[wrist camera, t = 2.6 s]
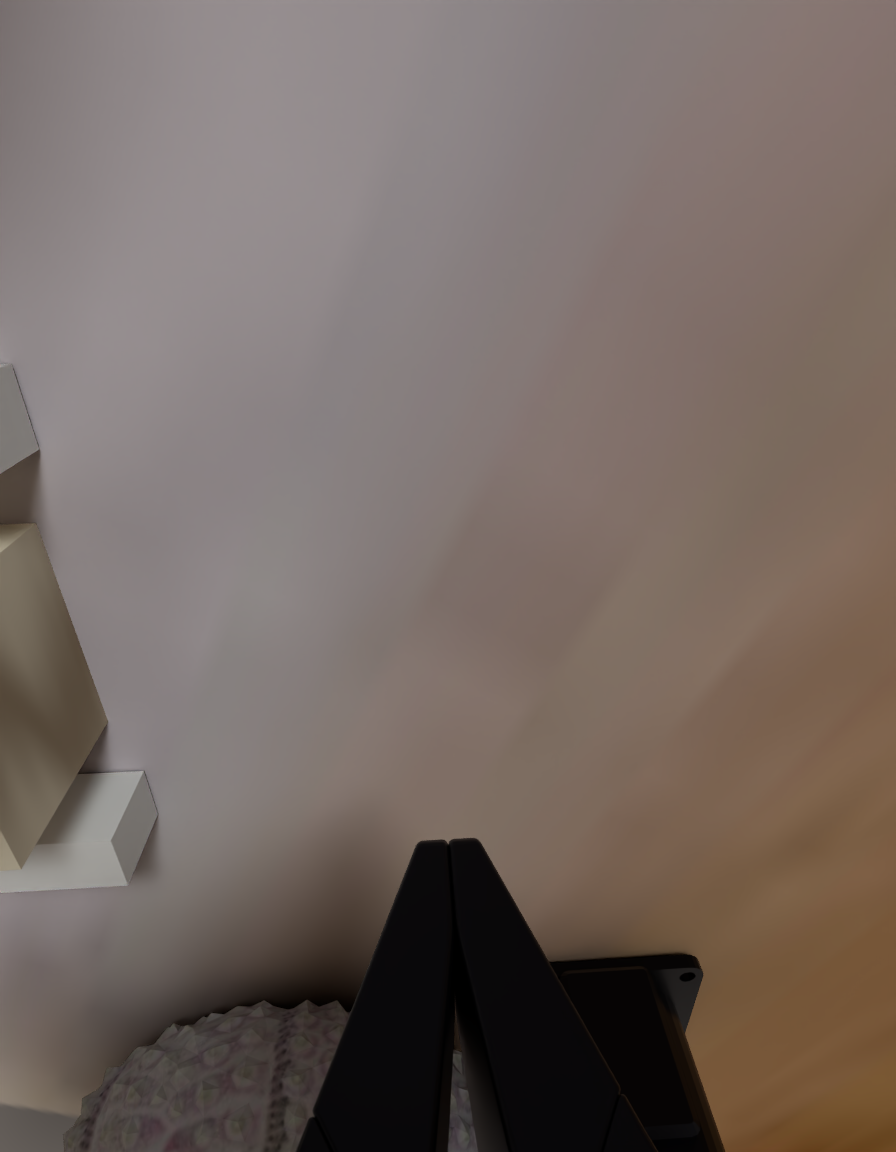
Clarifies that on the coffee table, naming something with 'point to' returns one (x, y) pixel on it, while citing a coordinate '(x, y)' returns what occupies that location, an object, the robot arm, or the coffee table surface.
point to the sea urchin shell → (230, 1086)
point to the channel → (93, 801)
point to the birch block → (38, 695)
